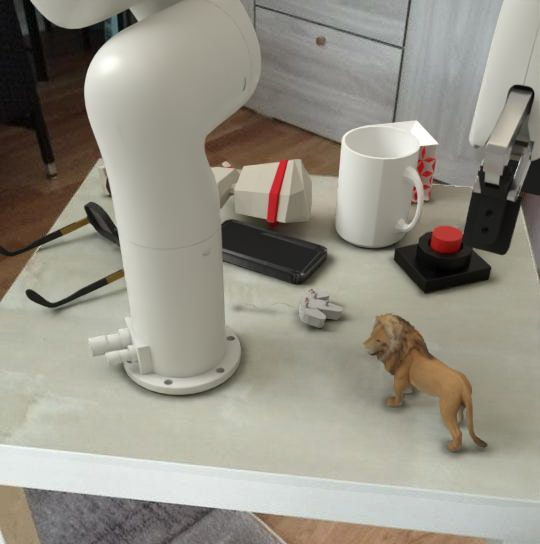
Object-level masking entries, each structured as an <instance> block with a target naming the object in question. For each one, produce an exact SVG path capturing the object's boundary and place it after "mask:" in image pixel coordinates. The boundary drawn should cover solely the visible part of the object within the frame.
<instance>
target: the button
mask: <svg viewBox="0 0 540 544" xmlns="http://www.w3.org/2000/svg"><path fill="white" fill-rule="evenodd" d="M432 231H433V233H432V238H431V243H430V246H431V248H432V249H433V250H436V251H438V252H441V253H455V252H458V251H459V250H460V247H461V242H462V237H463V231H462V230H461V229H459V228H457V227H455V226H451V225H440V226H439V225H438V226H436V227H435V228H433V230H432Z"/></svg>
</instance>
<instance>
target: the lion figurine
mask: <svg viewBox="0 0 540 544" xmlns="http://www.w3.org/2000/svg"><path fill="white" fill-rule="evenodd" d="M374 317H375V320H374V323H373V326H372V330H371V332H370V336H369V337H368V338H367V339H365V340H364V341H363V343H362V345H363V347H364V349H365V350H366V354H367V356H368V357H369V358H372V357H375V358H376V359H377V360H378V361H380V362H381V363H383V367H384V370H385V371H386V372H387V373H389V374H390V375H391V376H393V391H394V396H390V397H388V399H387V405H388V407H390V408H396V407H397V408H398V407H400V406H401V405H402V404H403V403H404V399H405V398H404V397H405V394H411V393H413V392H414V391H415V389H417V390H418V391H419V392H421V393H423V394H425V395H427V396H429V397H433V398H438V407H439V408H438V409H439V413H440V416H441V419H442V422H443V423H444V425H445V427H446V429H447V431H448V432H449V434H450V436H451V438H452V439H449V440H447V442H446V443H447V444H446V448H447V450H448V451H450V452H456V451H459V450H460V449H461V447H462V445H463V432H462V430H461V429H460V426H459V423H462V422H463V421H464V419H465V415H464V411H465V414H466V424H467V430H468V435H469V436H470V438H471V440H472V441H473V442H474V444H475V445H476V447H477V448H481V449H486V448H488V443H487V442H486V441H484V440H483V439H481V438H480V437H478V436H477V434H476V432H475V427H474V406H473V398H472V395H473V386H472V384H471V382H470V380H469V379H468V378H467V376H466V375H465V374H464V373H463V372H461V371H459V370H457V369H454V368H452V367H450V366H448V365H447V364H445V363H444V362H442V361H441V360H440V359H438V357H436V356H434V355H433V354H432V353H430V351H429V348H428V346H427V343H426V341H425V339H424V337H423V335H422V334H421V332H420V331H419V330H417V329H416V327H415V325H412V323H410V322H409V320H406V319H405V318H403V317H402V316H400V315H398V314H393V313H392V312H388V313H384V314H380V315H375V316H374Z"/></svg>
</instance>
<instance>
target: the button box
mask: <svg viewBox="0 0 540 544" xmlns="http://www.w3.org/2000/svg"><path fill="white" fill-rule="evenodd" d="M432 233H433V230H431V231H427V232H424V234H422V235H421V236H420V237H418V239H417V243H413V244H408V245H401V246H398V247H395V248H394V254H393V261H394V262H395V263H396V264H397V265H398V266H399V267H400V269H401V270H402V271H403V272H404V273H405V274H406V275H407V276H408V278H410V280H411V281H412V282H413V283H414V284H415V286H417V287H418V289H420V291H421V292H422V293H423V294H428V293H432V292H437V291H441V290H447V289H451V288H455V287H459V286H460V287H461V286H465V285H470V284H473V283H478V282H482V281H487V280H490V277H491V272H492V268H493V267H492V266H491V265H490V264H489V263H488V262H487V261H486V260H485V259H483V258H482V256H481V255H479V253H477V252H476V250H474V248H472V247H468V246H465V245H464V244H463V243H462V242H461V247H460V250H459V251H458V252H455V253H441V252H438V251H436V250H433V249H432V248H431V246H430V243H431V238H432Z"/></svg>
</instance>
